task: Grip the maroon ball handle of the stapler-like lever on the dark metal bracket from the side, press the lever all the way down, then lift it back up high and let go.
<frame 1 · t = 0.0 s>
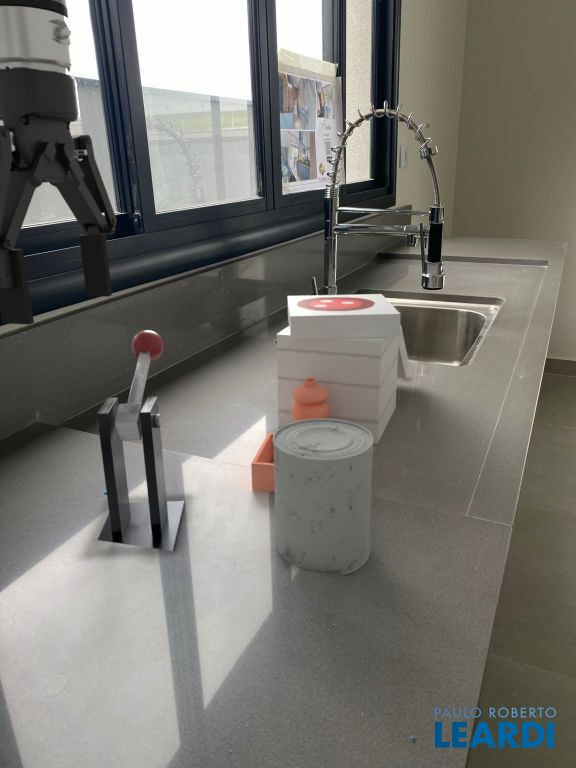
hand: (63, 308, 61), 23 cm above the counter, tool pointing down, fingers open, 13 cm apart
grey tin can: (322, 550, 61), on the counter
pizza boxes: (346, 408, 99), on the counter
bracket: (142, 535, 64), on the counter
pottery: (304, 466, 79), on the counter
lever: (139, 379, 65), point 15 cm above the counter, hinge at 20.0°
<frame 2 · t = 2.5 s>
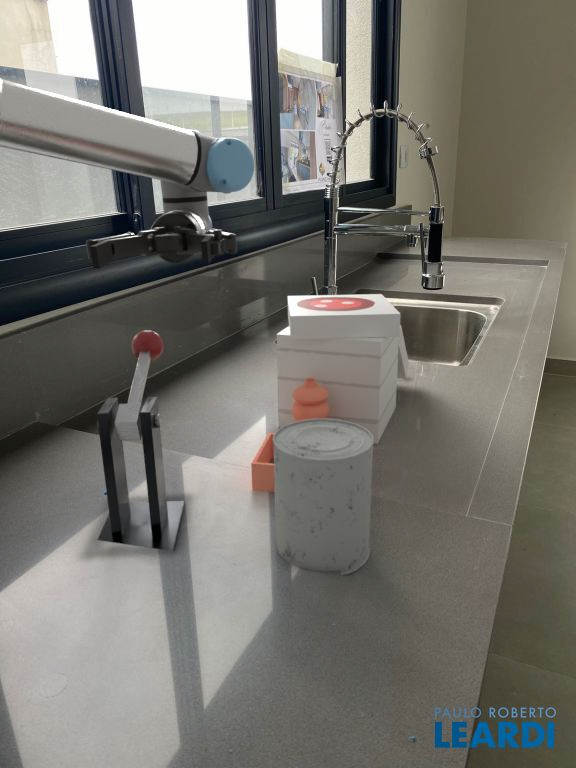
hand: (149, 255, 74), 27 cm above the counter, tool horizontal, fingers open, 13 cm apart
nothing on the counter moved.
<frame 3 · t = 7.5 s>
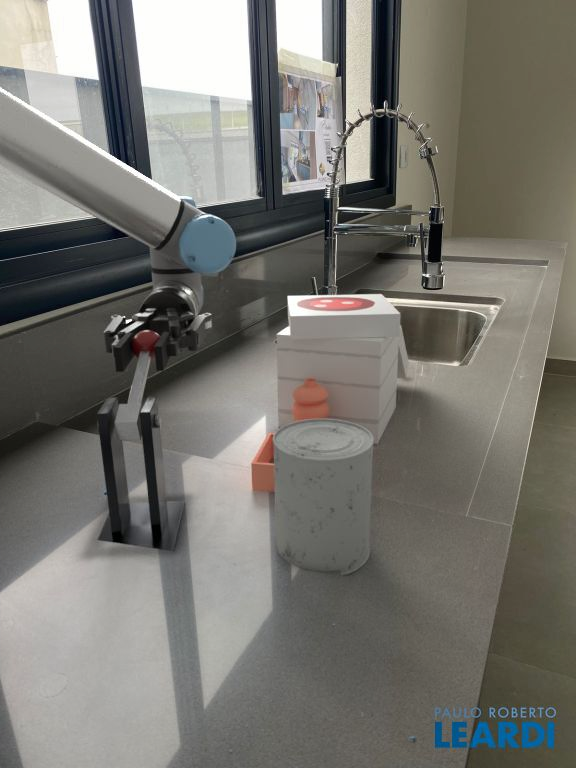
hand: (138, 359, 65), 17 cm above the counter, tool horizontal, fingers closed on lever, 4 cm apart
lever: (139, 379, 65), point 15 cm above the counter, hinge at 20.0°, touching gripper
everything else where it was.
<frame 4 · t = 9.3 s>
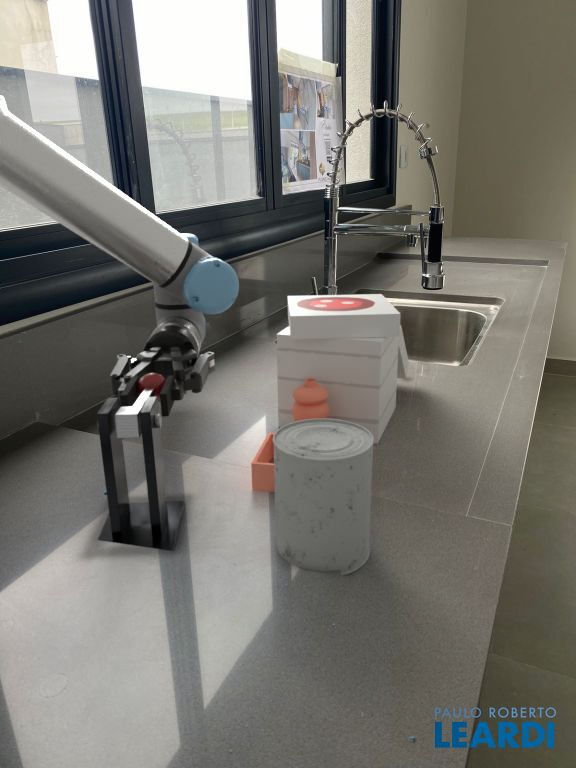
hand: (144, 405, 67), 12 cm above the counter, tool horizontal, fingers closed on lever, 4 cm apart
lever: (142, 402, 66), point 13 cm above the counter, hinge at -4.3°, touching gripper
everything else where it was.
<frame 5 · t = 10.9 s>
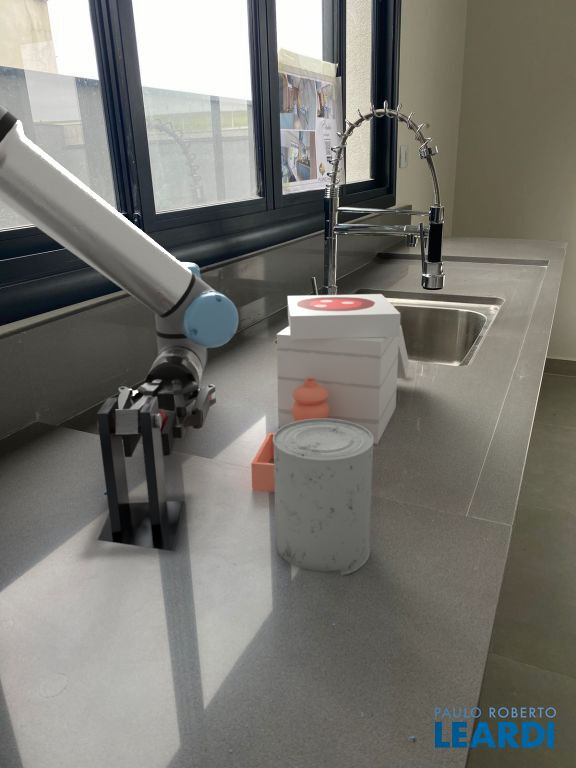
hand: (146, 445, 67), 8 cm above the counter, tool horizontal, fingers closed on lever, 4 cm apart
lever: (143, 422, 66), point 10 cm above the counter, hinge at -23.4°, touching gripper
everything else where it was.
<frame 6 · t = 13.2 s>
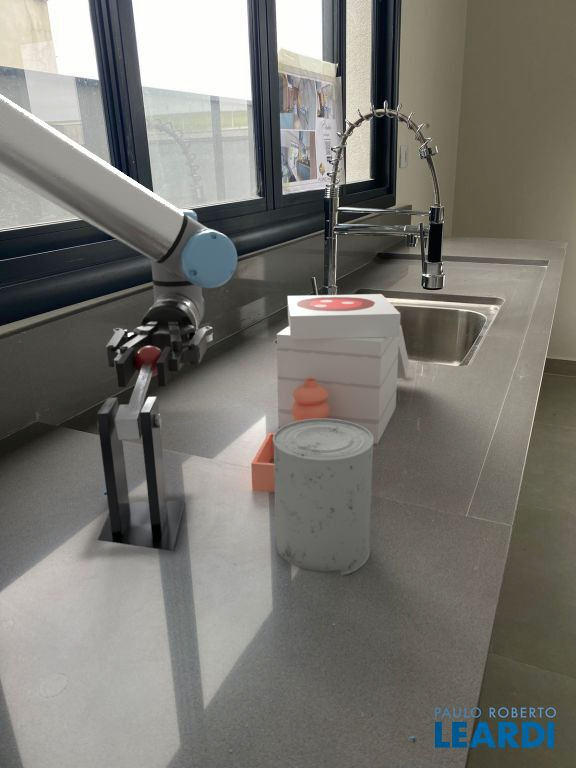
hand: (141, 374, 66), 16 cm above the counter, tool horizontal, fingers closed on lever, 4 cm apart
lever: (141, 387, 65), point 14 cm above the counter, hinge at 10.9°, touching gripper
everything else where it was.
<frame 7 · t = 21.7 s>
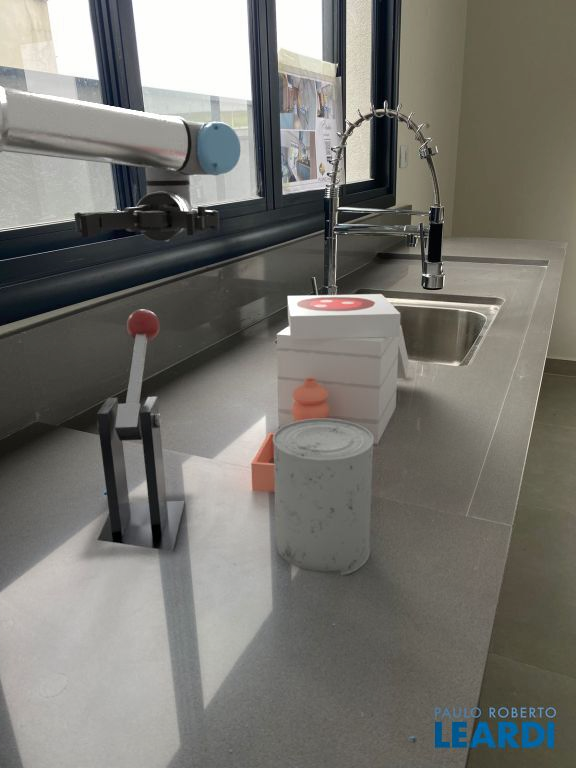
hand: (136, 225, 78), 30 cm above the counter, tool horizontal, fingers open, 13 cm apart
lever: (137, 369, 64), point 17 cm above the counter, hinge at 33.5°
everything else where it was.
at the end: lever reached -23° during the clip, +34° at the end; lever at +34° (first picture: +20°); the gripper is holding nothing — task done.
